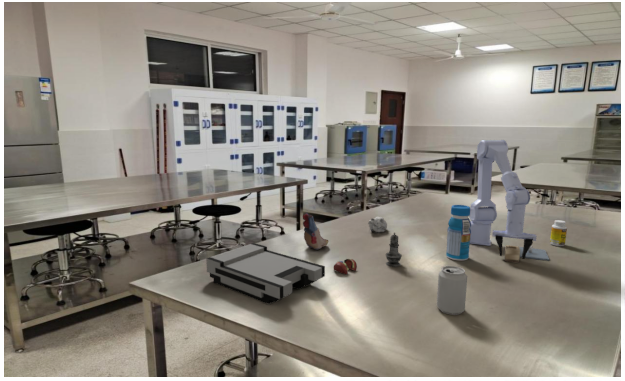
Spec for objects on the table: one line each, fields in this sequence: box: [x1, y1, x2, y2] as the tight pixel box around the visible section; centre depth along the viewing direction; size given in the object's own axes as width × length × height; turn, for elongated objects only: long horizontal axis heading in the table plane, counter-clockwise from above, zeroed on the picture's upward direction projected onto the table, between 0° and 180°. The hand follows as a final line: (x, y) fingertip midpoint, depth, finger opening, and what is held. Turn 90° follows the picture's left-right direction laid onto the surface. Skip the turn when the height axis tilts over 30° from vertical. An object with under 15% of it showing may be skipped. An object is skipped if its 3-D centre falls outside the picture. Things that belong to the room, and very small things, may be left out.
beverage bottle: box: [445, 204, 471, 262], centre depth 153 cm, size 8×8×20 cm
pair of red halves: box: [333, 258, 358, 275], centre depth 141 cm, size 6×4×8 cm
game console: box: [205, 242, 326, 305], centre depth 129 cm, size 21×32×8 cm, turn 52°
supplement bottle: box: [549, 219, 568, 247], centre depth 170 cm, size 6×6×10 cm
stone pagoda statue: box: [385, 232, 403, 268], centre depth 146 cm, size 6×6×12 cm
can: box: [436, 265, 468, 316], centre depth 111 cm, size 8×8×12 cm
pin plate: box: [519, 245, 550, 262], centre depth 159 cm, size 12×12×3 cm
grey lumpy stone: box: [367, 216, 388, 233], centre depth 188 cm, size 8×9×12 cm
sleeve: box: [504, 244, 520, 264], centre depth 151 cm, size 5×5×5 cm
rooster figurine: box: [302, 212, 329, 251], centre depth 164 cm, size 9×13×15 cm
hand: (511, 256), depth 151 cm, fingers open, 7 cm apart
